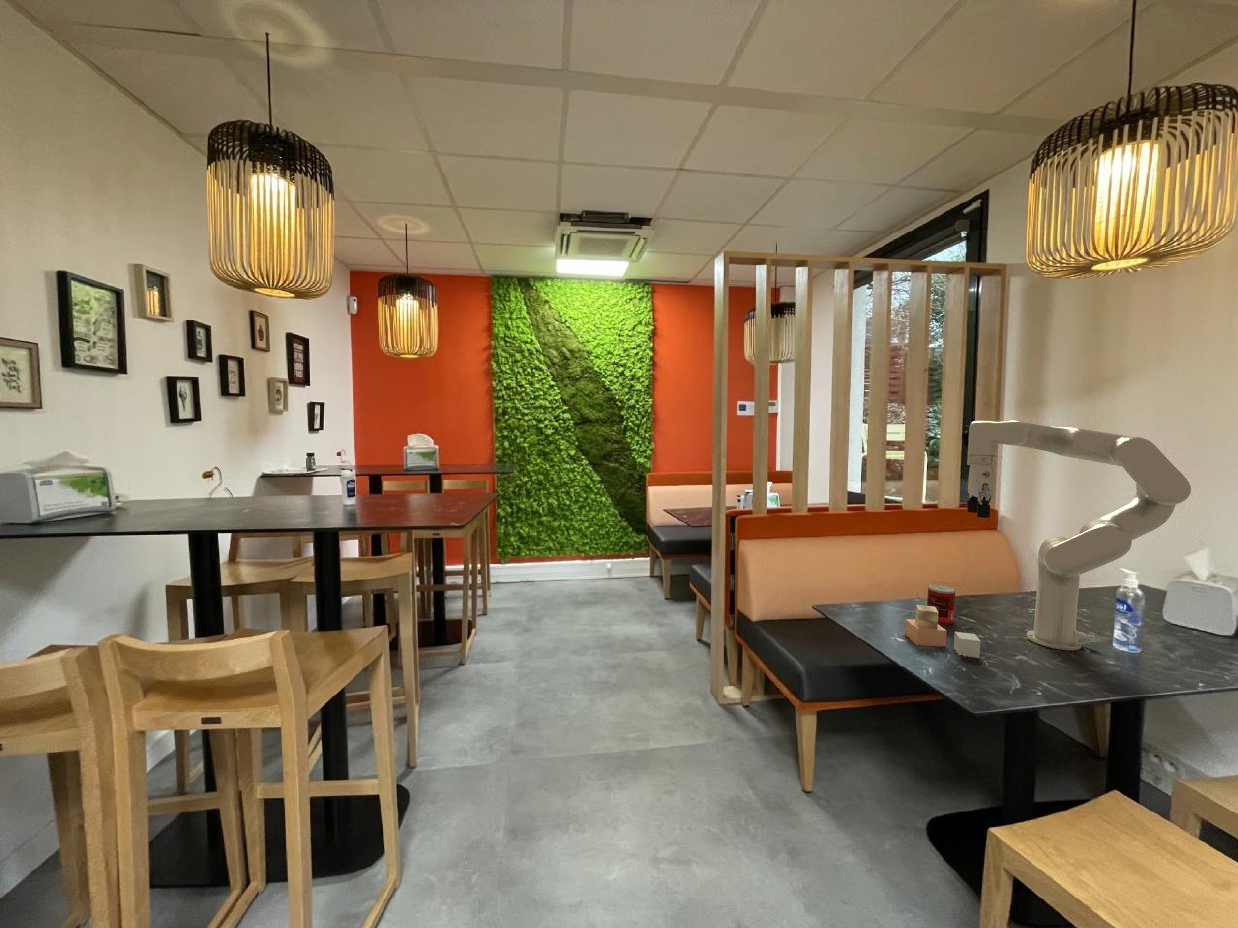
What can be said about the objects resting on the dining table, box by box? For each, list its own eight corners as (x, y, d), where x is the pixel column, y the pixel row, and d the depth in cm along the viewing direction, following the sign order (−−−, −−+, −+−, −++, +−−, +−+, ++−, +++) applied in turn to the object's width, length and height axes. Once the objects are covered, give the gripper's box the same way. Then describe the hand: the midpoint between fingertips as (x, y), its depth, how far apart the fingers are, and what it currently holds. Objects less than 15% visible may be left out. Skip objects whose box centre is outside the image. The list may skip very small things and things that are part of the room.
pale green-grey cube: (973, 650, 151) (974, 634, 151) (979, 658, 146) (980, 640, 146) (953, 648, 153) (954, 631, 152) (958, 655, 148) (959, 638, 148)
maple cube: (934, 622, 159) (935, 606, 159) (937, 628, 155) (938, 612, 154) (915, 620, 161) (916, 604, 161) (918, 626, 156) (918, 609, 156)
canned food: (945, 616, 178) (947, 584, 177) (958, 625, 170) (960, 592, 169) (921, 615, 179) (923, 583, 178) (933, 624, 171) (935, 591, 170)
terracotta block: (932, 636, 162) (933, 620, 161) (945, 647, 154) (946, 630, 153) (904, 634, 163) (905, 618, 162) (916, 645, 155) (917, 629, 154)
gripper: (1006, 463, 155) (1001, 520, 157) (986, 459, 172) (983, 511, 173) (976, 462, 158) (972, 518, 159) (960, 458, 174) (956, 509, 175)
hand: (978, 514), depth 166 cm, fingers open, 9 cm apart
